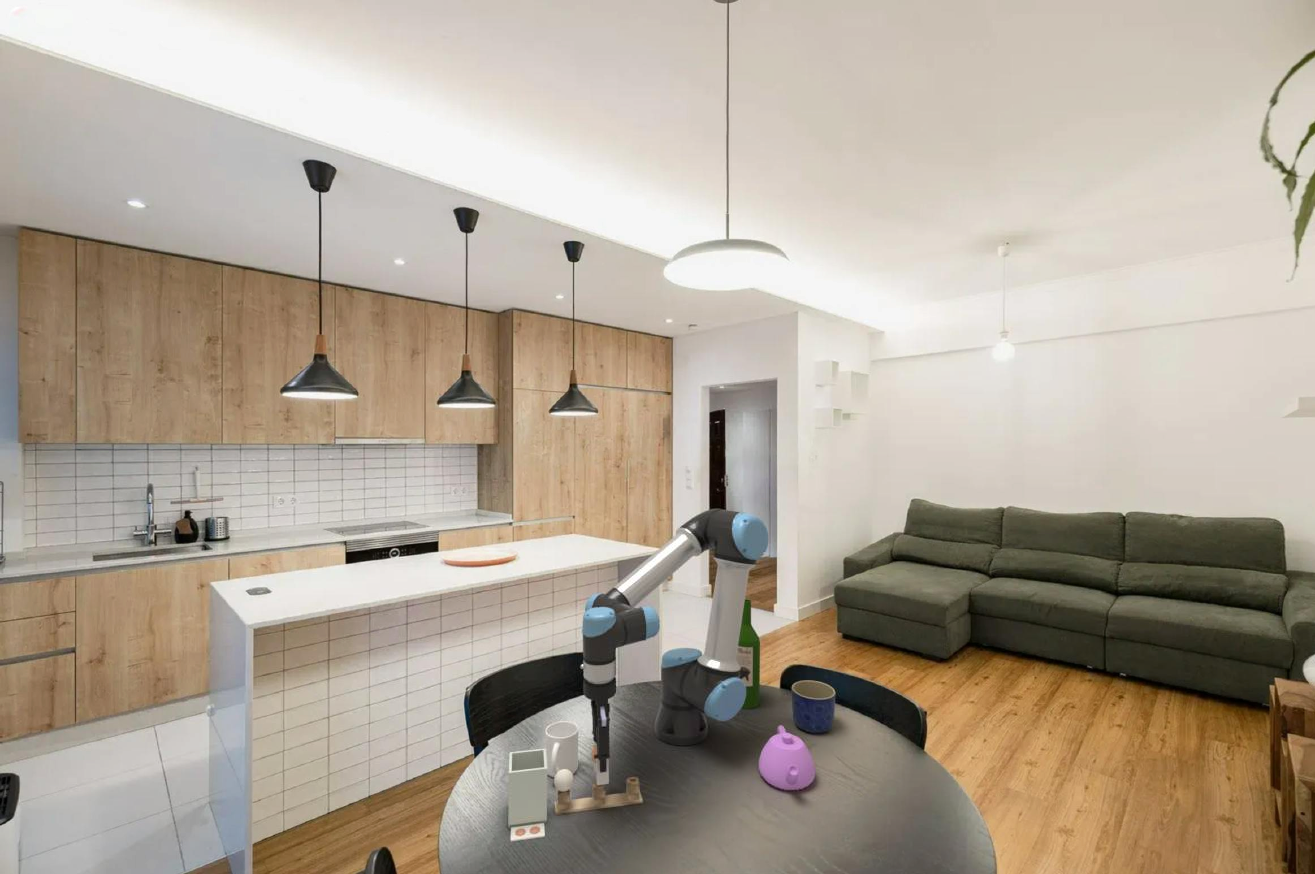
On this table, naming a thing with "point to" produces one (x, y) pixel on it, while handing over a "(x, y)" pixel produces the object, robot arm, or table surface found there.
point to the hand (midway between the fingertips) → (601, 776)
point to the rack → (599, 798)
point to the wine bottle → (749, 658)
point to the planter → (813, 706)
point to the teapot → (786, 762)
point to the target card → (527, 832)
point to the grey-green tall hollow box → (527, 788)
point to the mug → (561, 747)
